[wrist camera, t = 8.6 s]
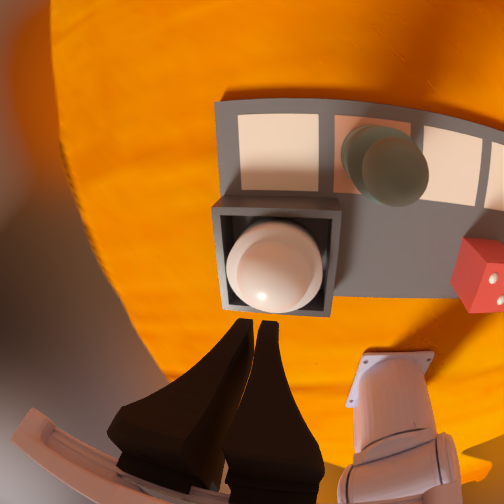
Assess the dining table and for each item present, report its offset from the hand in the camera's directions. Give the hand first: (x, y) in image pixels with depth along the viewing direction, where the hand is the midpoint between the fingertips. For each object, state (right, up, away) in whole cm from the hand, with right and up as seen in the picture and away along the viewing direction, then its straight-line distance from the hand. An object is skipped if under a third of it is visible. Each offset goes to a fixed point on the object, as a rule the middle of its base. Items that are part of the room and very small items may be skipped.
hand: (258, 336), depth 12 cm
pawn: (+7, +10, +4) cm, 13 cm away
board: (+11, +7, +6) cm, 14 cm away
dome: (+1, +3, +7) cm, 8 cm away
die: (+17, +3, +5) cm, 18 cm away
